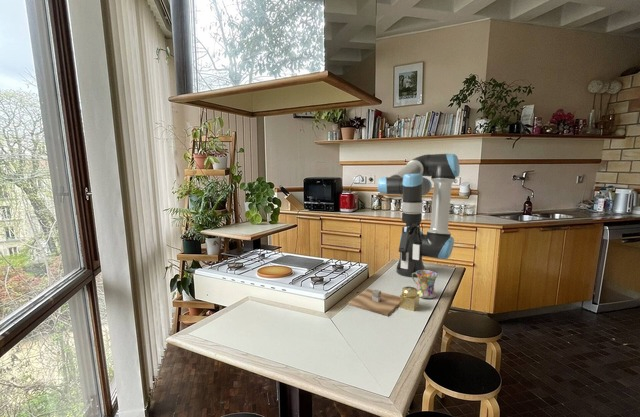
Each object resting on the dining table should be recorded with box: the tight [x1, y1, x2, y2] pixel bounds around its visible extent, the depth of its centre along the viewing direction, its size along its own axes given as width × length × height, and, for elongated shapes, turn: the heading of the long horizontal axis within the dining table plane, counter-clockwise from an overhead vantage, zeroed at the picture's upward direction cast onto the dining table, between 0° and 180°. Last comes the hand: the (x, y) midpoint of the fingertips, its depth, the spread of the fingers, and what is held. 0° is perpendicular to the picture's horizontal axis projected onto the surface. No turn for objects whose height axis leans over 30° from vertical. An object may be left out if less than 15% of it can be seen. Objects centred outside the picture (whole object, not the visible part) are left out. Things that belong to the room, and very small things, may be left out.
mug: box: [411, 269, 438, 299], centre depth 139 cm, size 12×9×11 cm
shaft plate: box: [347, 288, 400, 317], centre depth 132 cm, size 18×18×5 cm
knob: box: [399, 286, 420, 312], centre depth 128 cm, size 6×6×8 cm
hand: (410, 263), depth 126 cm, fingers open, 13 cm apart
